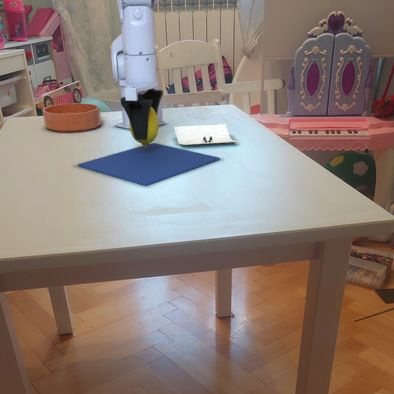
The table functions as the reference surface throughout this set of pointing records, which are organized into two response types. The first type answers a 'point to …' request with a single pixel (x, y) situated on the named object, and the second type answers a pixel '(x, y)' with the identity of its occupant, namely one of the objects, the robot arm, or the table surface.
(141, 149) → the cloth
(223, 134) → the white square plate
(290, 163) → the table surface
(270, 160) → the table surface
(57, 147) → the table surface
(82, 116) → the bowl
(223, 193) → the table surface
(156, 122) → the lemon
